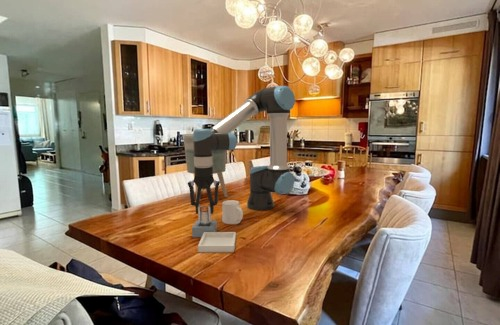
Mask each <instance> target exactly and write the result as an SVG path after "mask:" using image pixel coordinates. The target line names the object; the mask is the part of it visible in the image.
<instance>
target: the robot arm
mask: <svg viewBox="0 0 500 325" xmlns="http://www.w3.org/2000/svg"><path fill="white" fill-rule="evenodd" d="M295 103H296V96H295V94H294V92H293V90H292V89H291V88H290V87H289V86H288V85H277V86H271V87H270V86H269V87H265V88H262V89H259V90H257V91H256V92H255V93H252V95H250V96H249V97H247V98H246V99H245V100H244V101H243V104H241V105H240V106H239V107H237V108H236V109H235V110H233V111H232V112H231V113H229V114H227V115H226V116H225V117H224V118H222V119H221V120H219V121H218V122H217V123H216V124H215V125H213V126H212V127H210V128H195V129H194V130H193V133H192V134H193V145H194V166H196V167H195V168H194V174H193V175H194V178H193V179H192V180H189V181H188V182H187V185H188V188H189V189H188V190H189V197H190V205H191V206H194V207H195V214H197V216H198V219H197V220H198V221H199V222H201V212H200V207H202V205H201V204H200V202H201V201H200V200H201V195H202V190H203V189H204V190H205V191H206V193H207V197H208V203H209V205H208V213H209V222H211V220H212V215H213V214H214V212H215V210H214V208H215V207H214V206H217V205H218V202H219V187H220V185H221V184H220V181H219V180H215V178H214V174H213V167H212V165H213V162H212V151H224V150H227V151H233V150H234V149H236V147H237V146H238V141H237V140H238V139H237V137H236V134H235V133H233V131H235V130H236V129H237V128H239V127H240V126H241V125H242V124H243V123H245V122H246V121H248V120H249V119H250V118H252V116H257V115H258V114H260V113H263V112H266V115H267V116H268V117H269V165H261V166H260V165H259V166H253V167H251V168H250V170H249V171H250V173H249V186H250V187H249V188H250V193H249V196H248V199H247V201H246V206H247V208H248V209H249V210H254V211H268V210H271V209H273V208H274V207H275V202H274V200H273V196H272V193H275V194H279V195H285V194H288V193H289V192H291V190H292V189H293V187H294V185H295V175H294V174H293V173H292V172H291V170H290V169H291V167H290V165H288V162H287V161H288V155H287V154H288V152H287V151H288V117H289V115H291V110H292V109H293V108H294V106H295ZM212 185H213V186H214V198H213V192H212V188H211V186H212ZM195 186H197V187H198V190H197V198H196V196H195Z"/></svg>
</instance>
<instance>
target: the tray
mask: <svg viewBox="0 0 500 325" xmlns="http://www.w3.org/2000/svg"><path fill="white" fill-rule="evenodd" d="M236 239H237V232H236V231H216V232H204V233H203V236H202V237H200V241H199V242H198V245H197V253H235V248H236V247H235V246H236Z"/></svg>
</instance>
